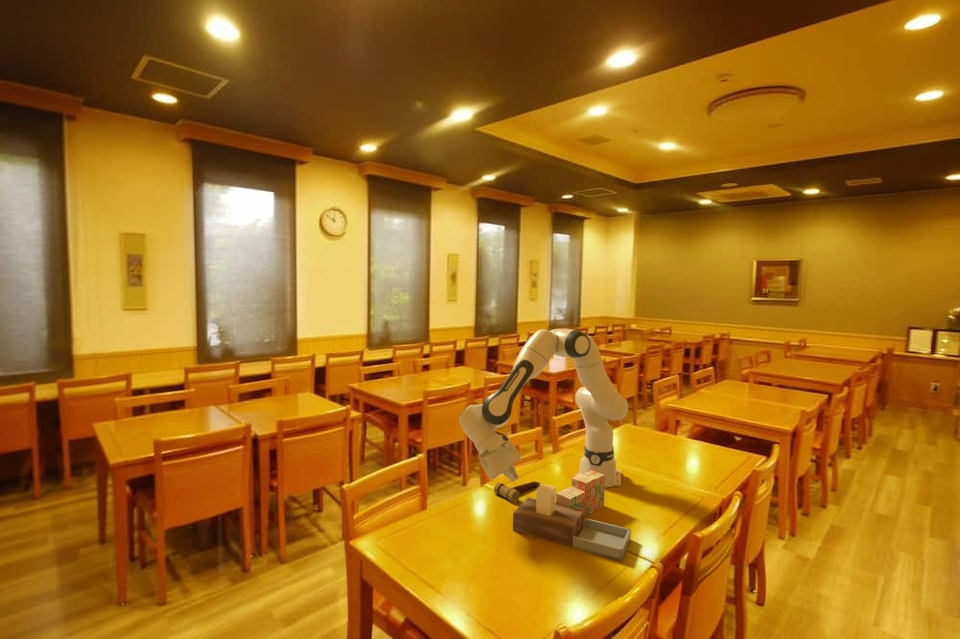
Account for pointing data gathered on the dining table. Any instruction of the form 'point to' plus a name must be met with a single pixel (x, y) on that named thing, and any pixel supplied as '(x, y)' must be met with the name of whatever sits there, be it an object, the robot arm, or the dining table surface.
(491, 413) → the robot arm
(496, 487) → the gavel
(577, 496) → the stack of blocks
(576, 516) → the dark brown brick
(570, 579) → the dining table surface
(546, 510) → the tile block
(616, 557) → the box
